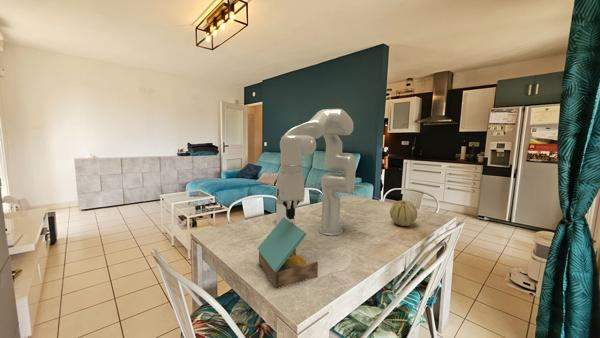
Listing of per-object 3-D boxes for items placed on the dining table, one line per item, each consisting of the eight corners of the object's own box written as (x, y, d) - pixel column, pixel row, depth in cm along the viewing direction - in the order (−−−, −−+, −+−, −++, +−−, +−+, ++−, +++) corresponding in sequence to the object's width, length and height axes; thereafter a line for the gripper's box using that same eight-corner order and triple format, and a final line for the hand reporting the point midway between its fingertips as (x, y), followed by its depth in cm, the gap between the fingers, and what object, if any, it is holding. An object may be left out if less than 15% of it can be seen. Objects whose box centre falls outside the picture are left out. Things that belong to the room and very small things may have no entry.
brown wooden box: (295, 254, 105) (295, 242, 104) (317, 276, 88) (317, 262, 88) (259, 263, 97) (258, 250, 97) (276, 288, 81) (276, 273, 80)
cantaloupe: (411, 221, 149) (412, 197, 148) (420, 230, 135) (422, 203, 133) (386, 220, 151) (387, 196, 149) (393, 229, 136) (394, 202, 135)
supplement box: (291, 225, 140) (291, 200, 138) (276, 225, 140) (276, 200, 138) (292, 220, 149) (292, 196, 147) (277, 220, 149) (277, 196, 147)
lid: (285, 218, 101) (283, 216, 100) (306, 234, 84) (305, 232, 84) (258, 249, 97) (257, 248, 96) (276, 272, 80) (274, 271, 80)
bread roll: (310, 266, 96) (310, 256, 96) (294, 275, 90) (294, 264, 89) (295, 258, 102) (295, 249, 101) (279, 267, 95) (279, 257, 95)
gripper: (304, 167, 96) (303, 213, 98) (267, 169, 89) (268, 218, 91) (313, 169, 89) (312, 218, 91) (275, 171, 82) (275, 224, 84)
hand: (290, 218), depth 91 cm, fingers closed
